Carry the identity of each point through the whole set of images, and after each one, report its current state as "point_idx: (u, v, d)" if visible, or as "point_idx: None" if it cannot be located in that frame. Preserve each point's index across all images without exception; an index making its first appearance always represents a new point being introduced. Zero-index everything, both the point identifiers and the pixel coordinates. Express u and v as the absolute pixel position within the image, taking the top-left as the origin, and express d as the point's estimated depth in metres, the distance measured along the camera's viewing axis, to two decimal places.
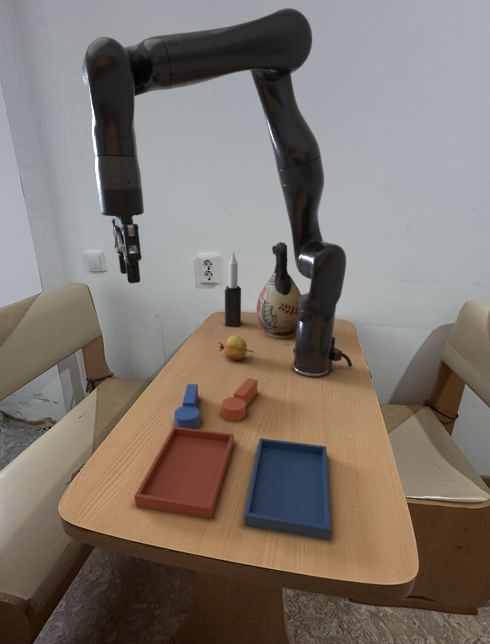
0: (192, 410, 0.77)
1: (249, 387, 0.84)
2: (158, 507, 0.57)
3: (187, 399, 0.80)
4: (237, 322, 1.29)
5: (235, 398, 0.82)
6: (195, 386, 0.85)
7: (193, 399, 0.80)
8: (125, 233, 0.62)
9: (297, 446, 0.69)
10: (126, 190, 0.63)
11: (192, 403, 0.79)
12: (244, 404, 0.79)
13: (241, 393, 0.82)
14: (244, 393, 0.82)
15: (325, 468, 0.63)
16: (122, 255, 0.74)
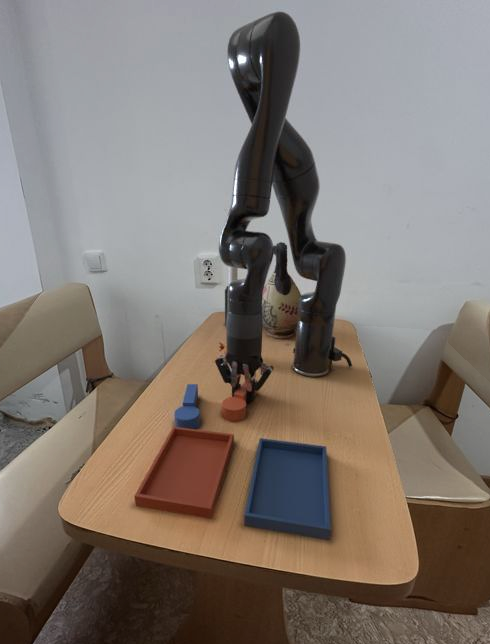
0: (192, 410, 0.77)
1: None
2: (158, 507, 0.57)
3: (187, 399, 0.80)
4: None
5: (235, 398, 0.82)
6: (195, 386, 0.85)
7: (193, 399, 0.80)
8: (268, 376, 0.78)
9: (297, 446, 0.69)
10: (261, 335, 0.77)
11: (192, 403, 0.79)
12: (244, 404, 0.79)
13: (241, 393, 0.82)
14: (244, 393, 0.82)
15: (325, 468, 0.63)
16: (237, 387, 0.83)
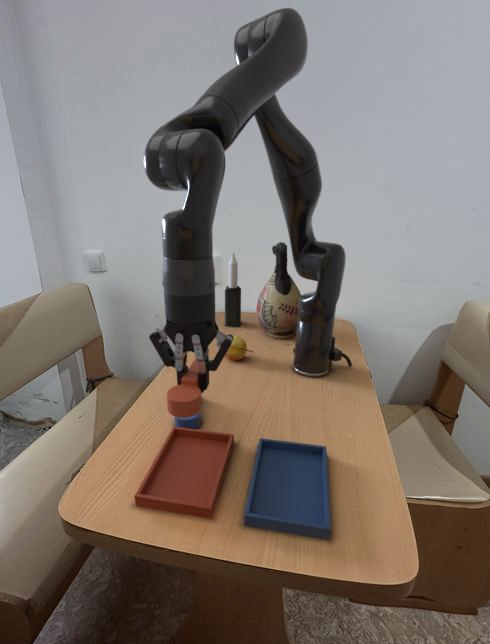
0: None
1: None
2: (158, 507, 0.57)
3: None
4: (237, 322, 1.29)
5: (184, 386, 0.58)
6: None
7: None
8: None
9: (297, 446, 0.69)
10: (214, 292, 0.54)
11: None
12: (199, 392, 0.56)
13: (192, 378, 0.59)
14: (195, 377, 0.59)
15: (325, 468, 0.63)
16: (185, 370, 0.60)
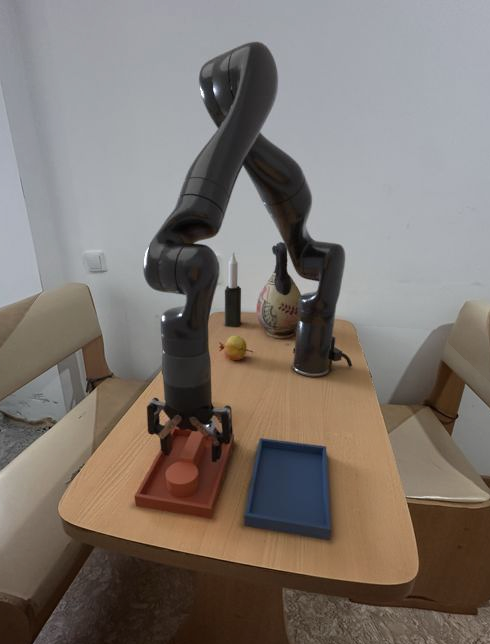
0: None
1: (197, 444, 0.65)
2: (158, 507, 0.57)
3: None
4: (237, 322, 1.29)
5: (182, 463, 0.62)
6: None
7: None
8: (228, 420, 0.59)
9: (297, 446, 0.69)
10: (210, 378, 0.58)
11: None
12: (196, 471, 0.60)
13: (189, 455, 0.63)
14: (193, 454, 0.63)
15: (325, 468, 0.63)
16: (167, 437, 0.64)
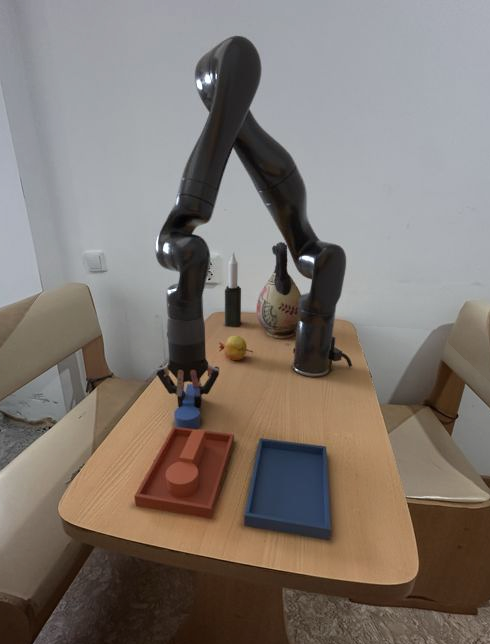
0: (192, 410, 0.77)
1: (197, 444, 0.65)
2: (158, 507, 0.57)
3: (187, 399, 0.80)
4: (237, 322, 1.29)
5: (182, 463, 0.62)
6: None
7: (193, 399, 0.80)
8: (216, 378, 0.78)
9: (297, 446, 0.69)
10: None
11: (192, 403, 0.79)
12: (196, 471, 0.60)
13: (189, 455, 0.63)
14: (193, 454, 0.63)
15: (325, 468, 0.63)
16: (183, 395, 0.80)
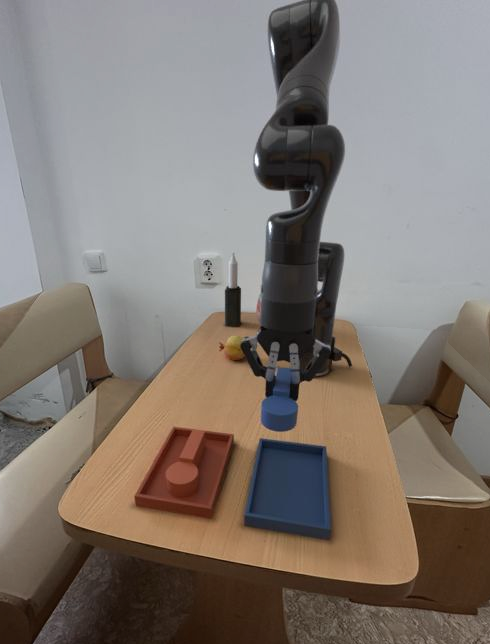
0: (287, 403, 0.53)
1: (197, 444, 0.65)
2: (158, 507, 0.57)
3: (280, 386, 0.56)
4: (237, 322, 1.29)
5: (182, 463, 0.62)
6: (289, 370, 0.61)
7: (288, 387, 0.56)
8: (327, 358, 0.53)
9: (297, 446, 0.69)
10: None
11: (287, 393, 0.55)
12: (196, 471, 0.60)
13: (189, 455, 0.63)
14: (193, 454, 0.63)
15: (325, 468, 0.63)
16: (274, 380, 0.57)
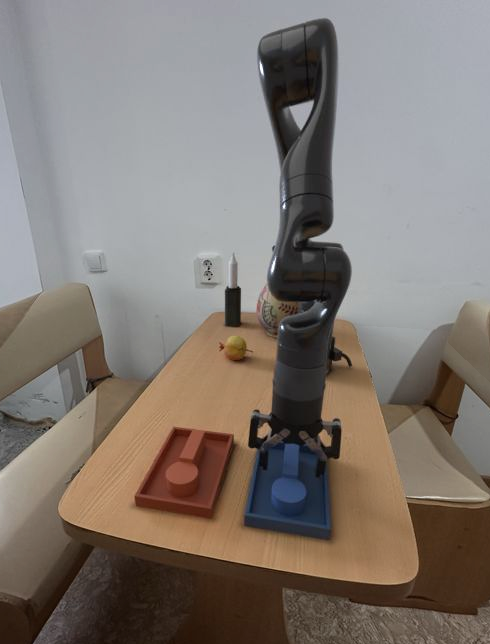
0: (296, 487, 0.57)
1: (197, 444, 0.65)
2: (158, 507, 0.57)
3: (289, 467, 0.60)
4: (237, 322, 1.29)
5: (182, 463, 0.62)
6: (296, 447, 0.65)
7: (296, 469, 0.60)
8: None
9: None
10: None
11: (295, 475, 0.59)
12: (196, 471, 0.60)
13: (189, 455, 0.63)
14: (193, 454, 0.63)
15: (325, 468, 0.63)
16: (267, 451, 0.61)
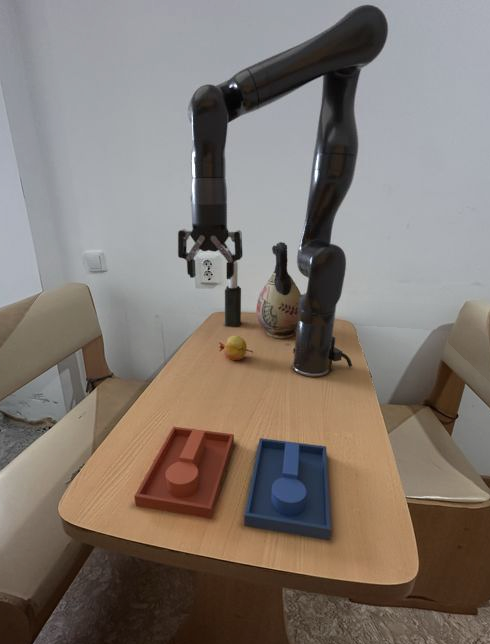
0: (296, 487, 0.57)
1: (197, 444, 0.65)
2: (158, 507, 0.57)
3: (289, 467, 0.60)
4: (237, 322, 1.29)
5: (182, 463, 0.62)
6: (296, 447, 0.65)
7: (296, 469, 0.60)
8: (240, 238, 0.79)
9: None
10: (226, 205, 0.78)
11: (295, 475, 0.59)
12: (196, 471, 0.60)
13: (189, 455, 0.63)
14: (193, 454, 0.63)
15: (325, 468, 0.63)
16: (192, 261, 0.84)
